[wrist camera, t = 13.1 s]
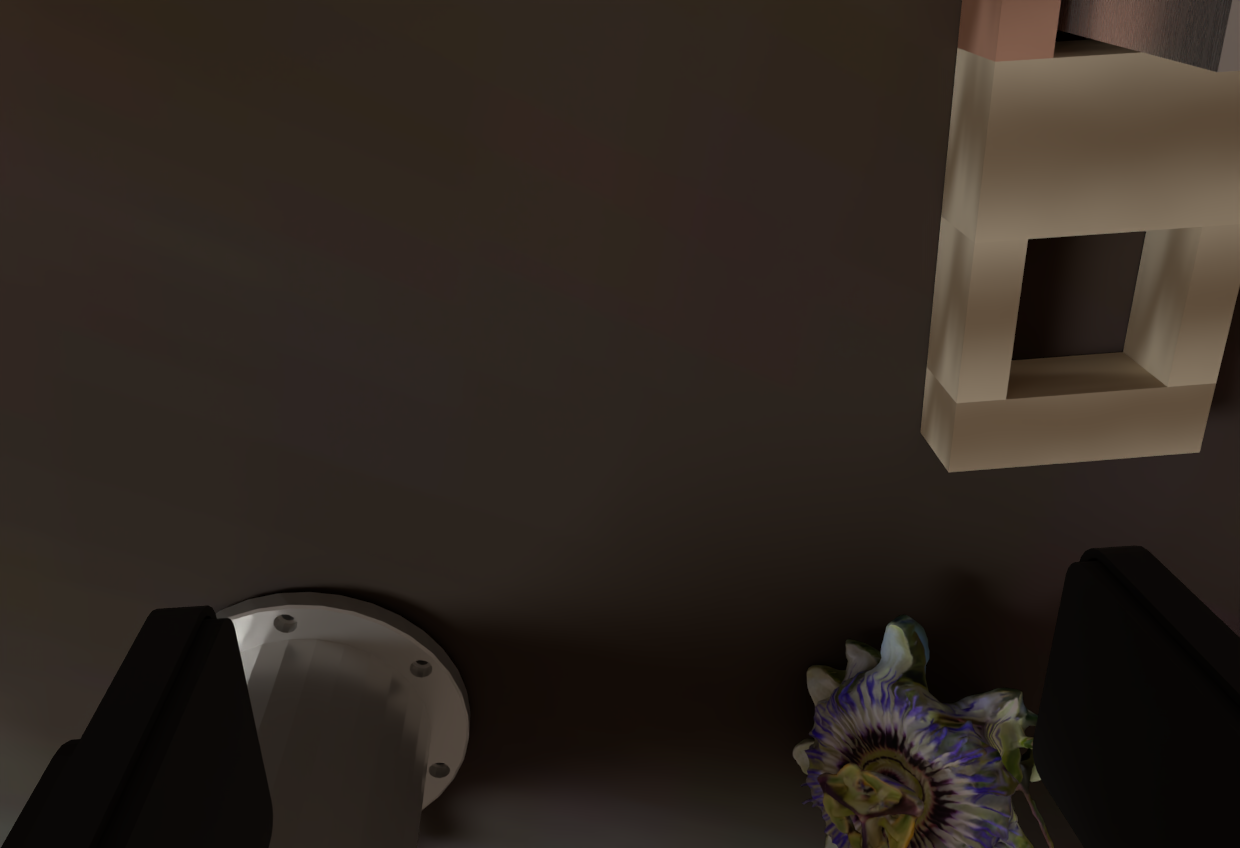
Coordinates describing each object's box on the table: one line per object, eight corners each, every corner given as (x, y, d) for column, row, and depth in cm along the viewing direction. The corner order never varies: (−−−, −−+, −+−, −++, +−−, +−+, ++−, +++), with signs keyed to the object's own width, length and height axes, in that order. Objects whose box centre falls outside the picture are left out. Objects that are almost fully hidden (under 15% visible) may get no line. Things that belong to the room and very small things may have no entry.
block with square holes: (1154, 413, 39) (1199, 452, 36) (920, 432, 39) (948, 472, 36) (1304, -286, 29) (1382, -304, 26) (988, -269, 28) (1034, -286, 26)
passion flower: (797, 597, 49) (835, 606, 37) (1031, 627, 48) (1148, 646, 36) (771, 844, 47) (803, 936, 35) (1013, 880, 46) (1128, 986, 34)
